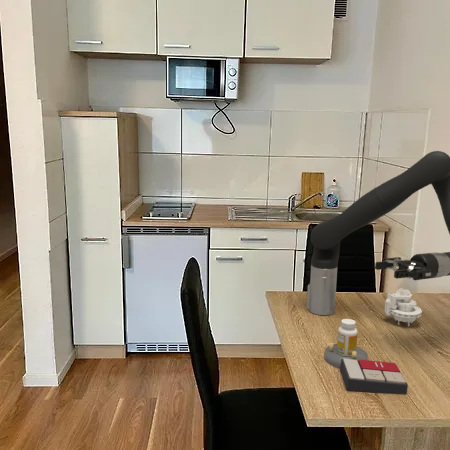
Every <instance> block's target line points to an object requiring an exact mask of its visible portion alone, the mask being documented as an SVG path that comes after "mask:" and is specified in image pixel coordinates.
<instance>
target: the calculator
mask: <svg viewBox="0 0 450 450" xmlns="http://www.w3.org/2000/svg"><path fill="white" fill-rule="evenodd" d="M339 371H340V374H341V378H342V381H343V384H344V387H345V390H346V391H347V392H353V393H365V392H367V393H375V394H377V393H378V394H389V395H391V394H392V395H393V394H394V395H407V394H408V393H407V392H408V388H409V385H408V382H407V381H406V379H405V377H404V375H403V373H402V372H401V370H400V368H399V366H398V365H397V364H396V363H395V362H391V361H390V362H389V361H388V362H387V361H380V360H379V361H378V360H359V361H358V360H353V359H341V366H340V368H339Z"/></svg>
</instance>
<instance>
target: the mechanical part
mask: <svg viewBox="0 0 450 450" xmlns="http://www.w3.org/2000/svg"><path fill="white" fill-rule="evenodd" d="M412 298H413V294H412V292H410V290H409V289H405V288H402V287H401V288H399V289H398V288H397V290H396V291H395V292H390V291H389V292H387V293H386V299H385V301H384V309H383V310H384V314H385V317H391V318H393V319H394V321H395V322H397V325H398V326H400V325H401V322H402V323H403V322H404V323H407V327H410V325H411V324H413V322H414V321H416V320H417V318H420V317H421V316H422V313H423V310H422V309H421V307H419V306H417V301H415V300H414V299H412Z"/></svg>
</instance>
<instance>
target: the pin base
mask: <svg viewBox="0 0 450 450" xmlns="http://www.w3.org/2000/svg"><path fill="white" fill-rule="evenodd" d="M368 357H369V355H368V353H367V351H365V350H364V349H363V348H361V347H358V346H357V347H356V351H352V356H351V357H346V356H342V355H340V354H339V353H338V352H337V343H335V344H334V342H331V341H330V342H329V345H328V346H326V348H325V349H324V360H325V362H327V364H329V365H330V366H332V367H334V368H336V369H340V366H341V359H353V360H358V361H359V360H368V359H369V358H368Z"/></svg>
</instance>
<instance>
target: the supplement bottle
mask: <svg viewBox="0 0 450 450" xmlns="http://www.w3.org/2000/svg"><path fill="white" fill-rule="evenodd" d="M356 324H357V322H356V320H354V319H351V318H343V319H341V322H340V326H339V327H338V330H337V343H336V344H337V352H338V353H339V354H340V355H342V356H346V357H351V356H352V351H356V347H358V344H357V343H358V329H357V328H356V326H357V325H356Z"/></svg>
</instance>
